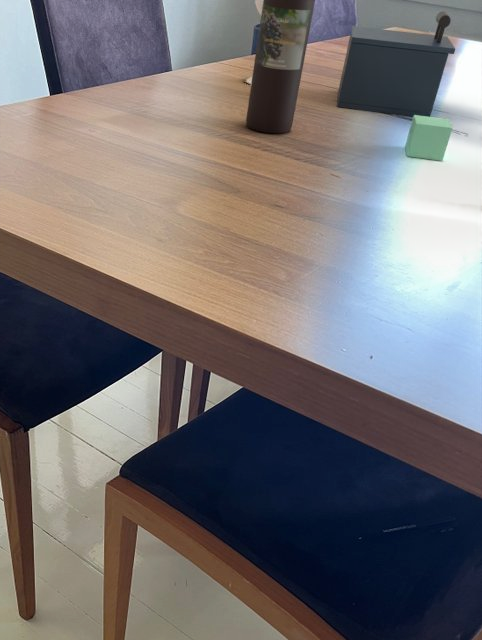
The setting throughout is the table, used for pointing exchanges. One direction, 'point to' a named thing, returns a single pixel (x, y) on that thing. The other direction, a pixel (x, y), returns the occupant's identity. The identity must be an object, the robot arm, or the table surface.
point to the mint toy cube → (428, 137)
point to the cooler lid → (407, 37)
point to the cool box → (390, 79)
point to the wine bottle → (278, 64)
